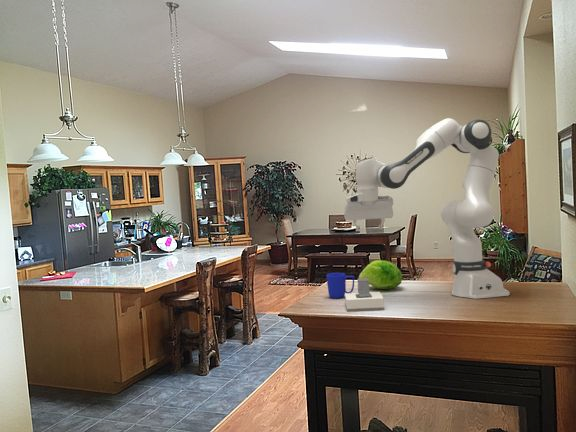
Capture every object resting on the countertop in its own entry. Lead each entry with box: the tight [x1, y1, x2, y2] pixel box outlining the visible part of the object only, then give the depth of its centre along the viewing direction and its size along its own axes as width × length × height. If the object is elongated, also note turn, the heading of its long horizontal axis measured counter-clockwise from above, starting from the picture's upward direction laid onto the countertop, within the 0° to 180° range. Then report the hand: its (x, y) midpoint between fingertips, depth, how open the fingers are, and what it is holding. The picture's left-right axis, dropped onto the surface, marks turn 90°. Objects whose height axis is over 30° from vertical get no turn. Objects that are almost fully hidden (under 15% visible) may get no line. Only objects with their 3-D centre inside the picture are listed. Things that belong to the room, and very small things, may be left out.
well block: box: [344, 291, 385, 313], centre depth 200 cm, size 14×12×4 cm
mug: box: [325, 272, 355, 299], centre depth 220 cm, size 8×12×10 cm
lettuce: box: [358, 259, 403, 290], centre depth 232 cm, size 15×20×14 cm
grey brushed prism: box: [356, 277, 370, 298], centre depth 199 cm, size 4×5×10 cm
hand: (369, 230), depth 212 cm, fingers open, 8 cm apart
